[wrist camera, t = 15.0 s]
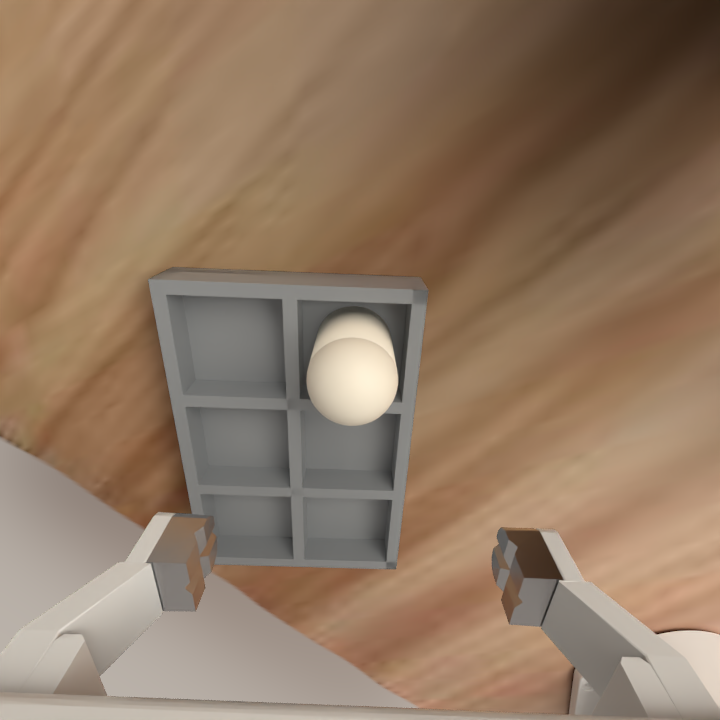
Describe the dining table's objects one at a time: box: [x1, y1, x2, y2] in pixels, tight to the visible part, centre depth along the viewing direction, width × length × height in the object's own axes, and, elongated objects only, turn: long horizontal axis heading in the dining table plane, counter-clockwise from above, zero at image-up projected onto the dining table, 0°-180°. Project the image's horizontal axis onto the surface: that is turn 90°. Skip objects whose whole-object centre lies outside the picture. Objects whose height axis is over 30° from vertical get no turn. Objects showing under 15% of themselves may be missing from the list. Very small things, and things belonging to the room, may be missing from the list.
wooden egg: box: [306, 306, 398, 426], centre depth 21 cm, size 5×5×7 cm
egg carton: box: [148, 267, 428, 569], centre depth 27 cm, size 22×15×3 cm
